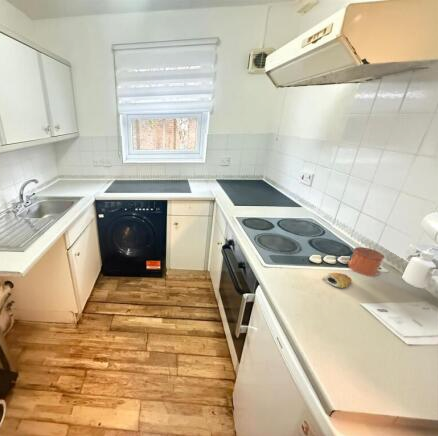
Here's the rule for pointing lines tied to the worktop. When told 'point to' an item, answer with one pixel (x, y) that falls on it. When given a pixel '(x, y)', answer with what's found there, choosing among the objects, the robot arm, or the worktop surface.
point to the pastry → (338, 280)
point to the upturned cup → (366, 261)
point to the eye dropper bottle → (419, 269)
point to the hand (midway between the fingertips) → (419, 264)
